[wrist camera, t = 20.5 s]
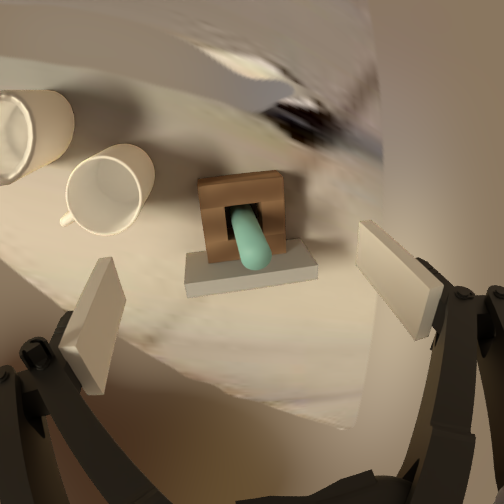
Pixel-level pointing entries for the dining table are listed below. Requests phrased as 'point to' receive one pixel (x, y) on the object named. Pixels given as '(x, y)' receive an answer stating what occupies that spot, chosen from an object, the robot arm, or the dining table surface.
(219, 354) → the dining table surface
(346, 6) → the dining table surface
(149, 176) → the cup
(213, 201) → the block
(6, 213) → the dining table surface
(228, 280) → the wall
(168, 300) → the dining table surface
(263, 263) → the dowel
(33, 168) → the mug
